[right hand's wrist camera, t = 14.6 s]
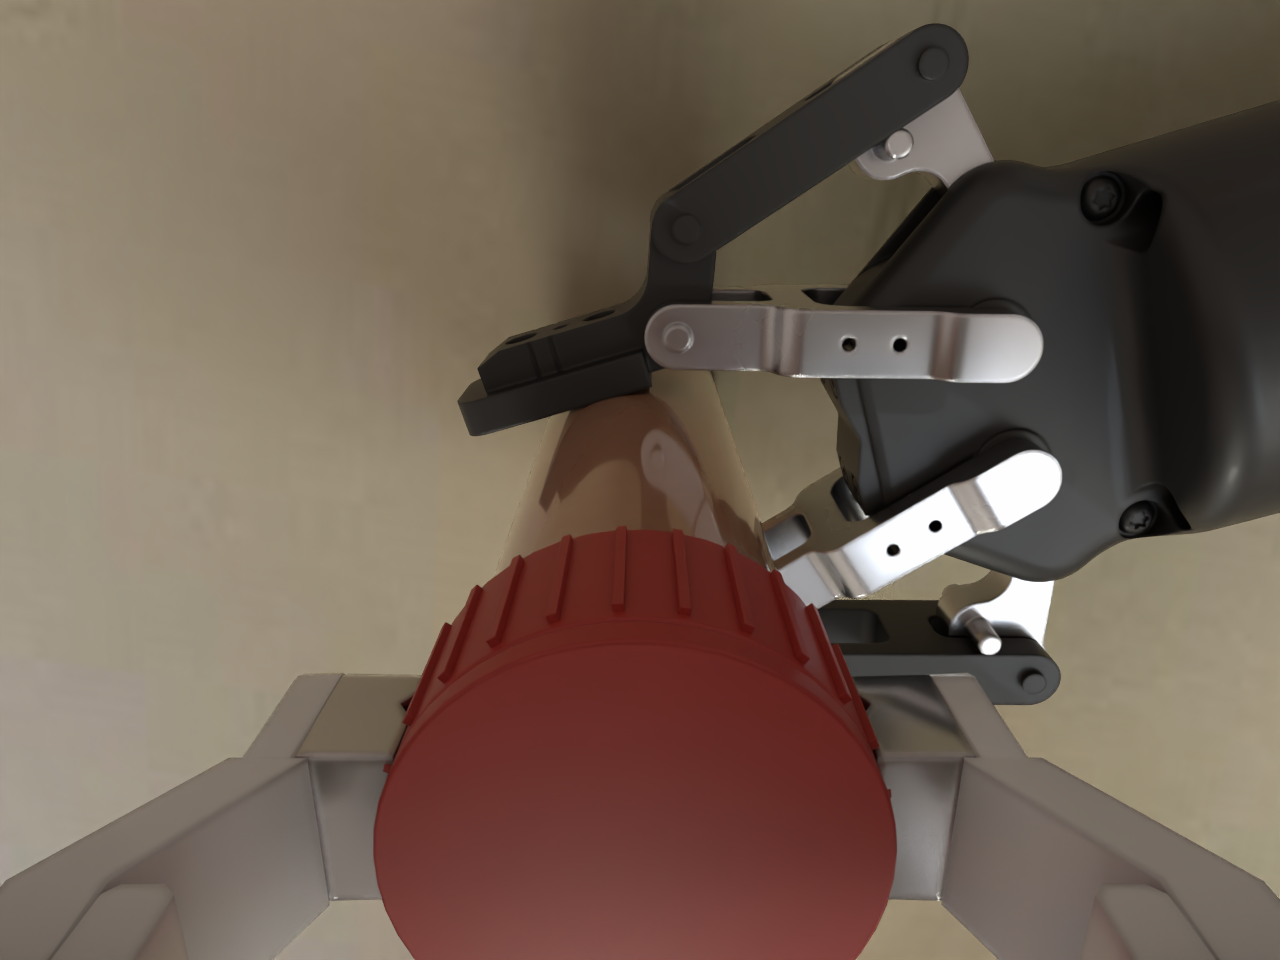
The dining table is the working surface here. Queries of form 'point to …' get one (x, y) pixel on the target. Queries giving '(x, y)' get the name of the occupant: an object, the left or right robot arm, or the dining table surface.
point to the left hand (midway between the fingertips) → (514, 518)
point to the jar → (641, 472)
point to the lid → (635, 768)
